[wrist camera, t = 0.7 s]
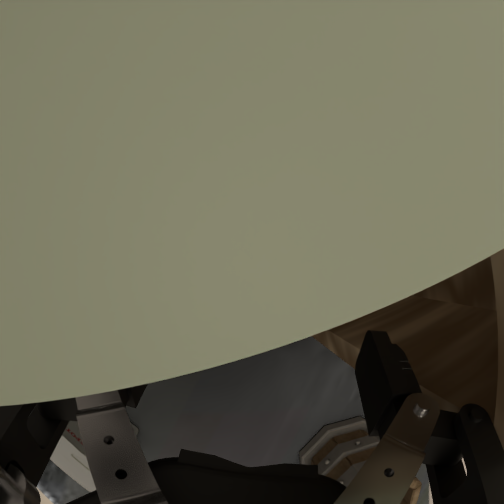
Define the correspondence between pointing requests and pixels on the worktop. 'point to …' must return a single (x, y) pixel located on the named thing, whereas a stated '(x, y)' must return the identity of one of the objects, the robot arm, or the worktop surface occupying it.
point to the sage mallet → (232, 176)
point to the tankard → (346, 453)
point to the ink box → (75, 456)
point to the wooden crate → (445, 338)
